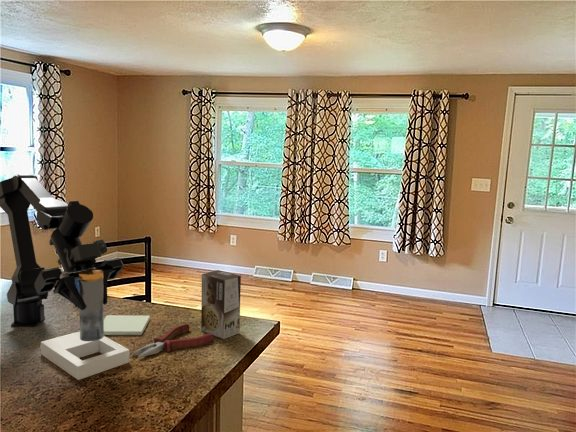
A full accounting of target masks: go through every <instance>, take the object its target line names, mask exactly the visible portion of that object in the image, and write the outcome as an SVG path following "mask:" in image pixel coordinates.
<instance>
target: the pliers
mask: <svg viewBox="0 0 576 432" xmlns="http://www.w3.org/2000/svg"><path fill="white" fill-rule="evenodd" d="M189 331H190V325H189V324H187V323H184V324H181V325H177V326H175V327H173V328H171V329H170V330H169V331H168V332H166V334H164V335H163V336H162V337H156V338H154V340H153V342H152V343H149V344H147V345H145V346H142V347H140V348H138V349H136V350H134V351H133V352H130V355H132V356H133V355H134V356H135V355H137V359H138V358H139V359H140V358H143V357H147V356H151V355H155V354H158V353H160V352H162V351H166V353H170V351H171V350H179V349H186V348H187V349H188V348H194V347H195V348H196V347H201V346H205V345H207V344H209V343H211V342H213V339H214V335H212V334H210V333H206V334H202V335H200V336H196V337H189V338H178V339H173V338H175V337H176V336H179V335H180V334H183V333H186V332H189Z"/></svg>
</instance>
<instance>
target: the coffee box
mask: <svg viewBox="0 0 576 432" xmlns="http://www.w3.org/2000/svg"><path fill="white" fill-rule="evenodd" d="M241 279H242V276H241V275H240V274H235V273H231V272H227V271H223V270H219V269H217V270H212V271H209V272H206V273H202V274H201V313H200V314H201V322H200V323H201V324H200V325H201V327H200V329H201V332H204V333H206V334H208V333H210V334H212V335H213V337H217V338H220V339H223V340H225V339H227V338H231V337H233V336H235V335H238V334H240V328H241V327H240V325H241V323H240V320H241V319H240V318H241V289H242V288H241V285H242V283H241V282H242V281H241Z"/></svg>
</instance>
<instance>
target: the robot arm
mask: <svg viewBox="0 0 576 432" xmlns="http://www.w3.org/2000/svg"><path fill="white" fill-rule="evenodd" d="M30 206H32V207H33V209H34V211H36V217H35V219H36V222H37V224H38V225H39V226H40V228H41V229H42V230H44V231H49V230H53V231H52V233H51V234H50V238H49V245H50V246H54V249H55V252H56V254H57V255H58V256H57V257H58V260H57V263H58V265H60V266H62V268H63V270H64V271H62V269H61V267H53V268H46V269H45V267H41V266H40V264H38V263H37V259H36V252H35V247H34V242H33V236H32V230H31V226H30V220H29V218H30V217H29V215H28V210H29V208H30ZM0 208H1V209H2V211H4V212H5V214H7V218H8V224H9V229H10V230H9V231H10V236H11V240H12V241H11V242H12V246H13V252H14V253H13V254H14V259H15V260H14V261H15V263H16V265H15V266H16V267H15V270H14V272H13V274H12V276H11V284H10V287H9V289H8V291H7V293H6V299H7V302H8V303H9V304H11V305H12V307H13V308H12V309H13V311H12V312H13V322H12V323H10V326H11V327H37V326H38V325H39V324H40V323H41V322H42V321H43V320H45V318H46V316H45V304H43V300H48V296H49V293H50V292H52V293H53V294H54V295H55V294H59V296H61V297H63V298H64V299H65V300H67V301H69V302H71V303H72V304H73V305H74V306H75V307H77V308H78V309H79V310H80V309H81V310H83V309H84V308H85V307H84V304H83V301H82V299H81V296H80V294H79V292H78V290H77V288H76V286H75V279H79V273H80V272H82V271H86V270H101V271H103V295H104V306H105V305H107V304H108V281H110V280H114V279H116V278H117V277H118V276H119V274H120V272H121V271H122V270H123V269H124V268H125V265H124V263H123V260H122V259H121V258H118V257H115V258H110V259H105V260H103V261H102V263H101V264H100V265H99V266H96V267H95V266H94V267H93V265H95V264H96V262H97V258H102V255H104V254H106V253H107V252H108V247H107V244H106V242H105V241H104V239H98V240H95V241H93V243H85V244H83V243H82V240H81V239H80V238H82V236H84V235H85V232H86V231H87V229H88V228H89V226H90V224H91V223H92V221H93V219H94V212H93V211H92V210H91V209H90V208H89V207H88V206H86V205H84V204H81V203H80V201H79V200H69V202H68V203H66V202H65V201H64V200H60V199H56V198H54V197H53V196H52V194H50V192H49V191H48V190H47V189H46V188H45V187H44V185H42V184H41V183H40V181H39V179H38V176H37V175H35V174H32V173H29V174H28V173H26V174H24V173H23V174H18V173H17V174H16V175H13V176H12V177H10V178H8V179H4V180H1V181H0Z"/></svg>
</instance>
